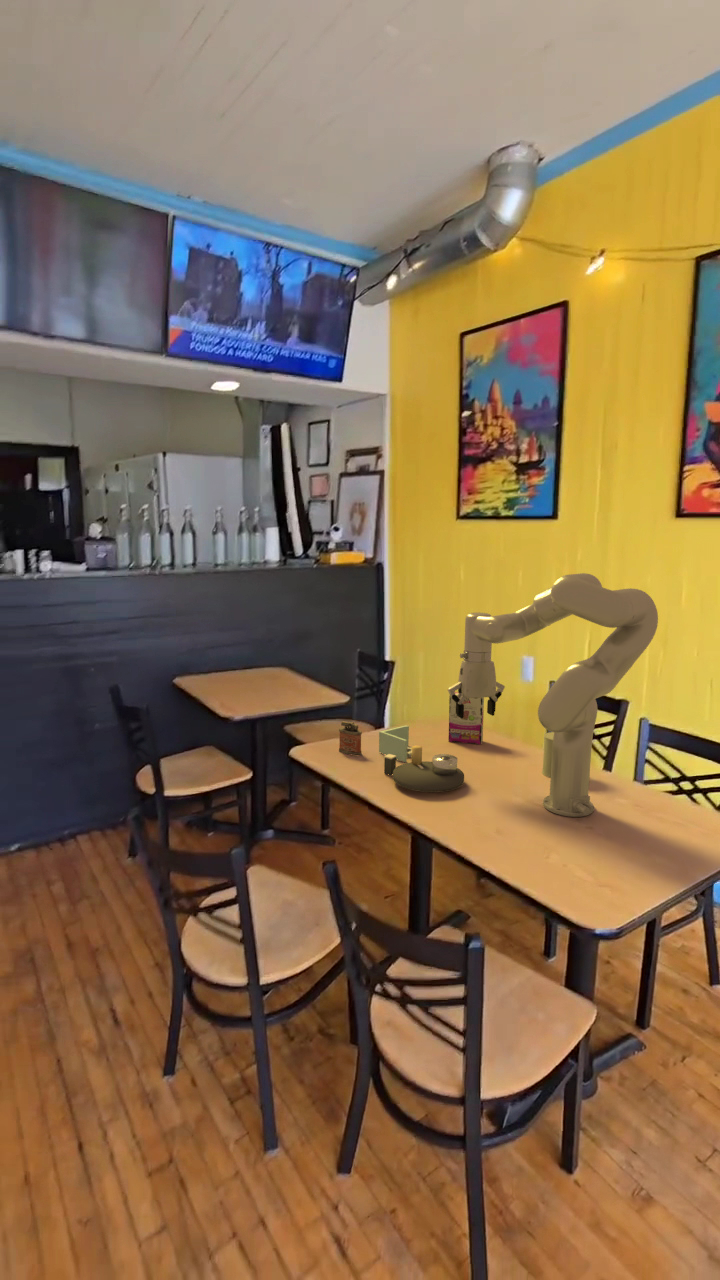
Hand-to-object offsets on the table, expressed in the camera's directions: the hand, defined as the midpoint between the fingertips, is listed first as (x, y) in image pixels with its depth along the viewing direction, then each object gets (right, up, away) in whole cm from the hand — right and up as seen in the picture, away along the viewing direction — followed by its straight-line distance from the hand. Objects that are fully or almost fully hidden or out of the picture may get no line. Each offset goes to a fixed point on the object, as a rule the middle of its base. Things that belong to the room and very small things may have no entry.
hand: (475, 715), depth 195 cm
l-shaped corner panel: (-18, -16, +23) cm, 34 cm away
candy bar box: (+3, -13, +37) cm, 39 cm away
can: (+26, -18, +7) cm, 32 cm away
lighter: (-36, -15, +24) cm, 46 cm away
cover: (-9, -16, -1) cm, 18 cm away
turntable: (-14, -17, -2) cm, 22 cm away
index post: (-24, -18, +6) cm, 30 cm away
